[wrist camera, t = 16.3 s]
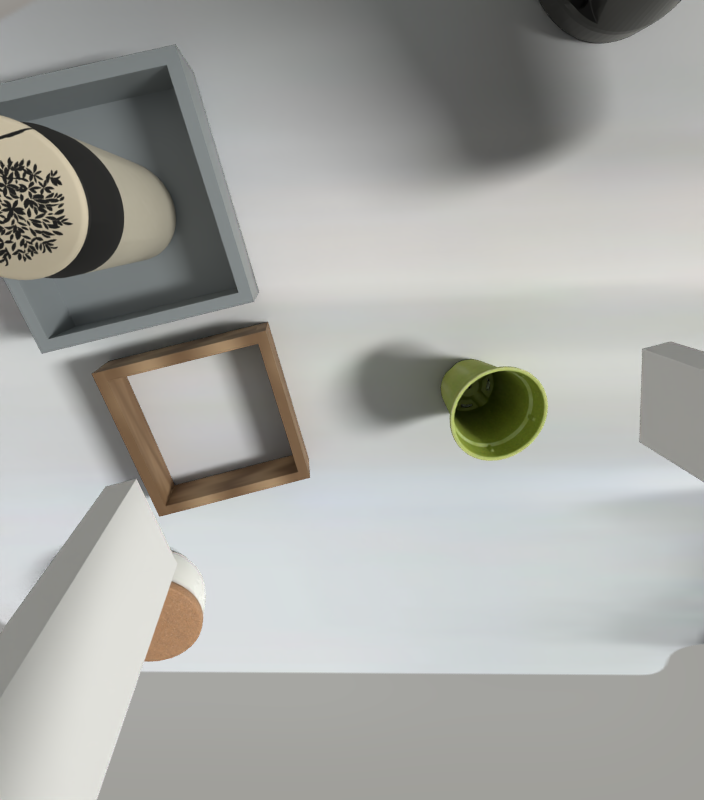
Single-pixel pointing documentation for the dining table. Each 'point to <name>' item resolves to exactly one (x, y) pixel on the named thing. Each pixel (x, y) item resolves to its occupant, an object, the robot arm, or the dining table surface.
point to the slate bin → (175, 167)
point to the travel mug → (74, 206)
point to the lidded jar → (179, 613)
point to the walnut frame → (143, 443)
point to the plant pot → (493, 408)
